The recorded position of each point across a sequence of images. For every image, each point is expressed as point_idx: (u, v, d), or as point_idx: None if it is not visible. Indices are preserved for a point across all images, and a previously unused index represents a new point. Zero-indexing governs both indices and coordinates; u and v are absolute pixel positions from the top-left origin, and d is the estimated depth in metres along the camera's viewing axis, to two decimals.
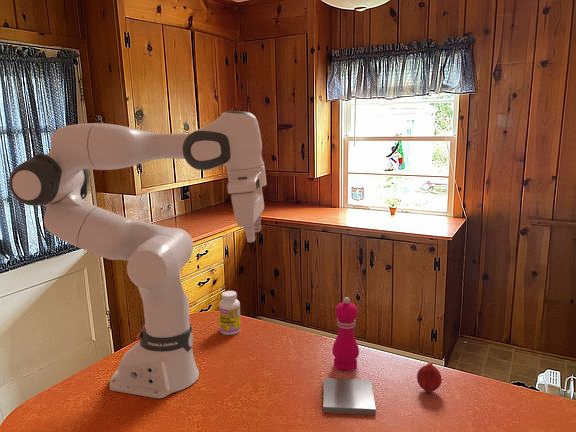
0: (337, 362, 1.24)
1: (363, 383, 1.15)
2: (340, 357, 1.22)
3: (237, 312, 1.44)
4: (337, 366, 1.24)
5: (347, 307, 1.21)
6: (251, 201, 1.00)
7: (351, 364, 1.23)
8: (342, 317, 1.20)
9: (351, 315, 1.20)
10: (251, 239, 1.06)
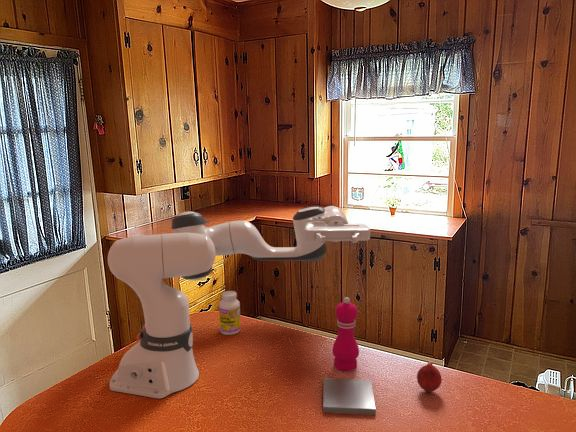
0: (337, 362, 1.24)
1: (363, 383, 1.15)
2: (340, 357, 1.22)
3: (237, 312, 1.44)
4: (337, 366, 1.24)
5: (347, 307, 1.21)
6: (306, 224, 1.44)
7: (351, 364, 1.23)
8: (342, 317, 1.20)
9: (351, 315, 1.20)
10: (320, 239, 1.35)
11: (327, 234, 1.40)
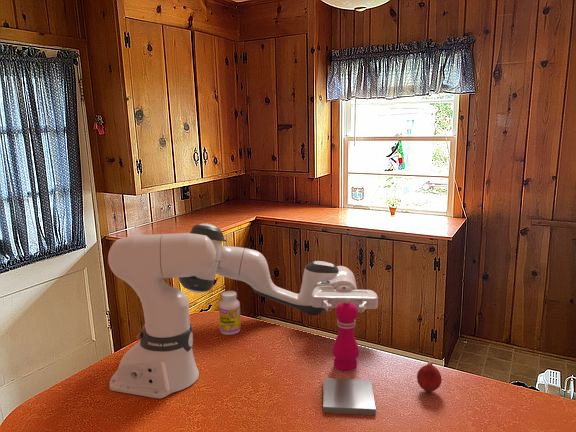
0: (337, 362, 1.24)
1: (363, 383, 1.15)
2: (340, 357, 1.22)
3: (237, 312, 1.44)
4: (337, 366, 1.24)
5: (347, 307, 1.21)
6: (313, 289, 1.44)
7: (351, 364, 1.23)
8: (342, 317, 1.20)
9: (351, 315, 1.20)
10: (326, 307, 1.35)
11: (335, 301, 1.40)
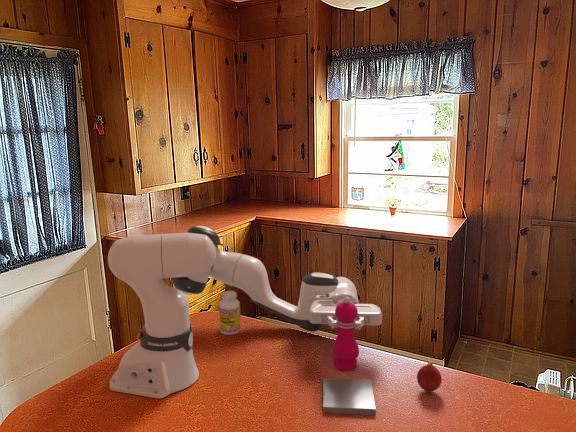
0: (337, 362, 1.24)
1: (363, 383, 1.15)
2: (340, 357, 1.22)
3: (237, 312, 1.44)
4: (337, 366, 1.24)
5: (347, 307, 1.21)
6: (312, 303, 1.33)
7: (351, 364, 1.23)
8: (342, 317, 1.20)
9: (351, 315, 1.20)
10: (331, 324, 1.24)
11: None
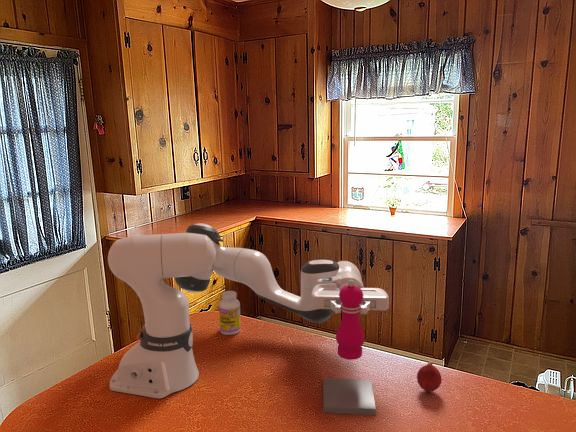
0: (341, 350, 1.16)
1: (363, 383, 1.15)
2: (345, 344, 1.14)
3: (237, 312, 1.44)
4: (341, 354, 1.15)
5: (352, 290, 1.12)
6: (313, 287, 1.24)
7: (356, 352, 1.15)
8: (347, 300, 1.12)
9: (356, 299, 1.11)
10: (335, 309, 1.15)
11: (338, 302, 1.20)
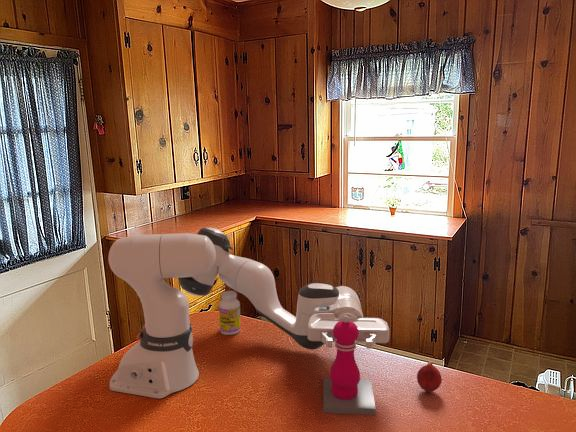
0: (335, 389, 1.10)
1: (363, 383, 1.15)
2: (339, 383, 1.07)
3: (237, 312, 1.44)
4: (335, 393, 1.09)
5: (347, 327, 1.06)
6: (310, 317, 1.18)
7: (351, 391, 1.09)
8: (341, 338, 1.06)
9: (351, 336, 1.05)
10: (326, 342, 1.09)
11: None
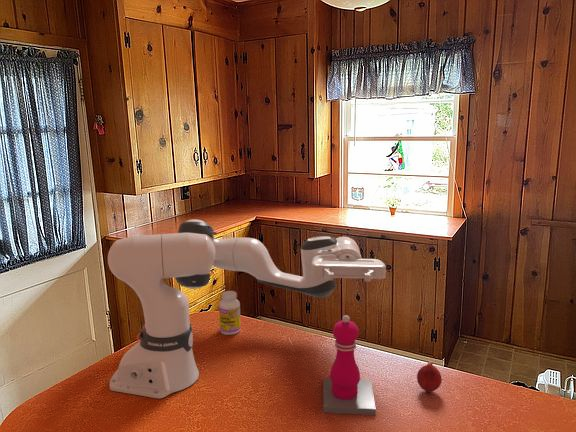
0: (335, 389, 1.10)
1: (363, 383, 1.15)
2: (339, 383, 1.07)
3: (237, 312, 1.44)
4: (335, 393, 1.09)
5: (346, 327, 1.06)
6: (313, 258, 1.29)
7: (351, 391, 1.09)
8: (341, 338, 1.06)
9: (351, 336, 1.05)
10: (328, 276, 1.20)
11: (337, 271, 1.24)
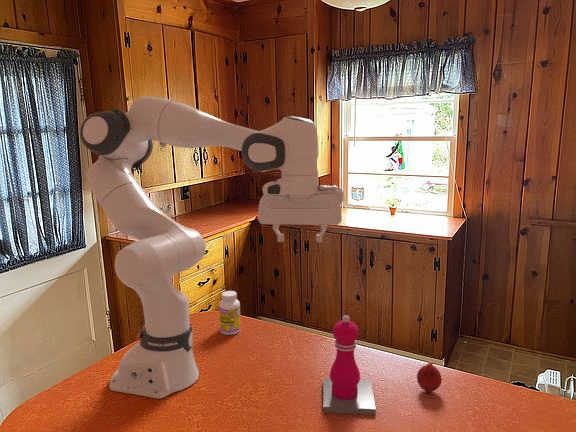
0: (335, 389, 1.10)
1: (363, 383, 1.15)
2: (339, 383, 1.07)
3: (237, 312, 1.44)
4: (335, 393, 1.09)
5: (346, 327, 1.06)
6: (259, 202, 1.09)
7: (351, 391, 1.09)
8: (341, 338, 1.06)
9: (351, 336, 1.05)
10: None
11: None
